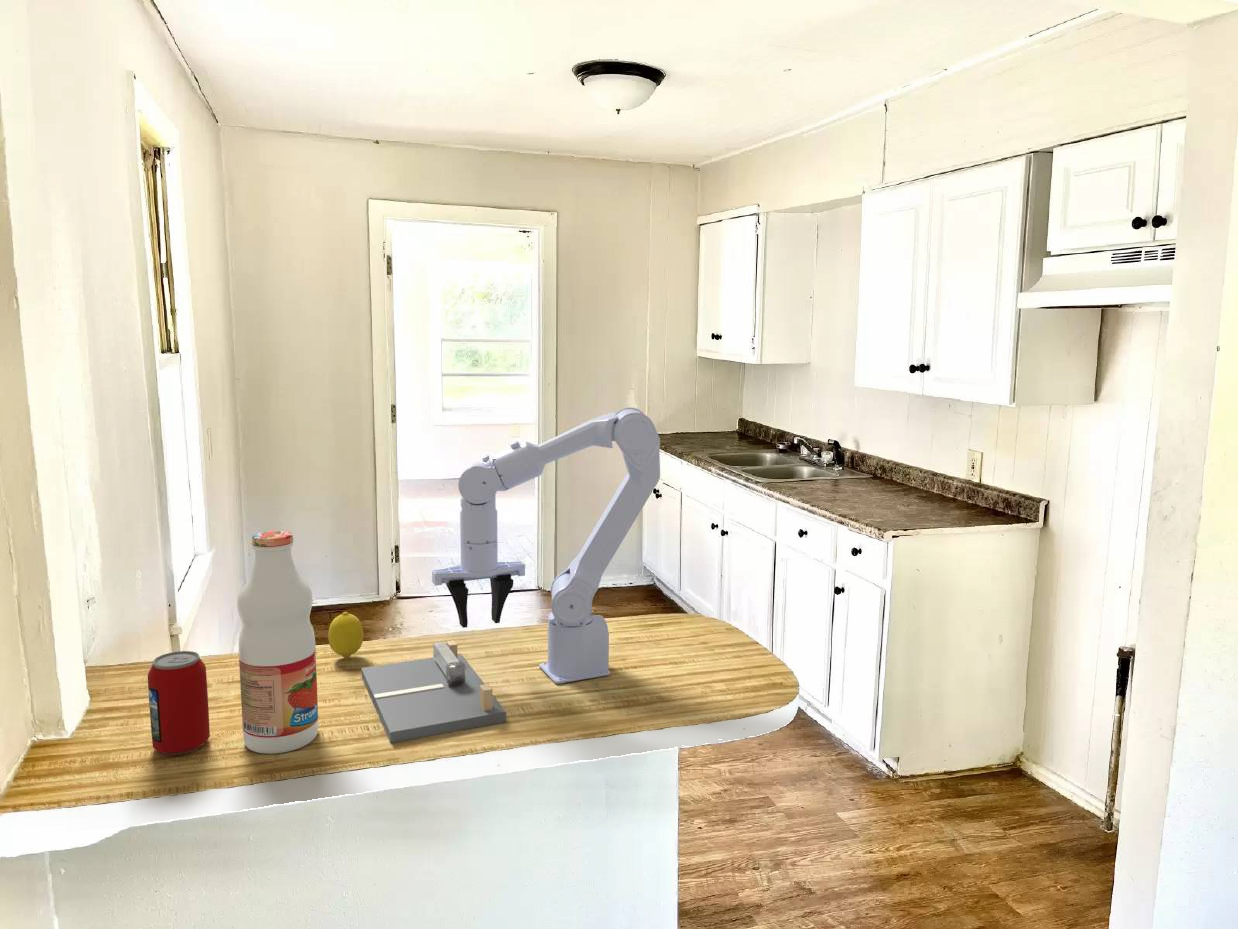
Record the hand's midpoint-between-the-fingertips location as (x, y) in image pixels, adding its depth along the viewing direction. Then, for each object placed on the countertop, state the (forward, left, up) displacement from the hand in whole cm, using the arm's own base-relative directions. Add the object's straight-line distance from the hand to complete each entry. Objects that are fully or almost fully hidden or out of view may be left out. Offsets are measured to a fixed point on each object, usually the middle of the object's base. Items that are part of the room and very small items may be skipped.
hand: (479, 623), depth 137 cm
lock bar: (+5, +1, -6) cm, 9 cm away
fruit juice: (+30, +11, -9) cm, 34 cm away
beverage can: (+42, +8, -9) cm, 44 cm away
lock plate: (+9, +6, -8) cm, 14 cm away
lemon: (+18, -15, -9) cm, 25 cm away
